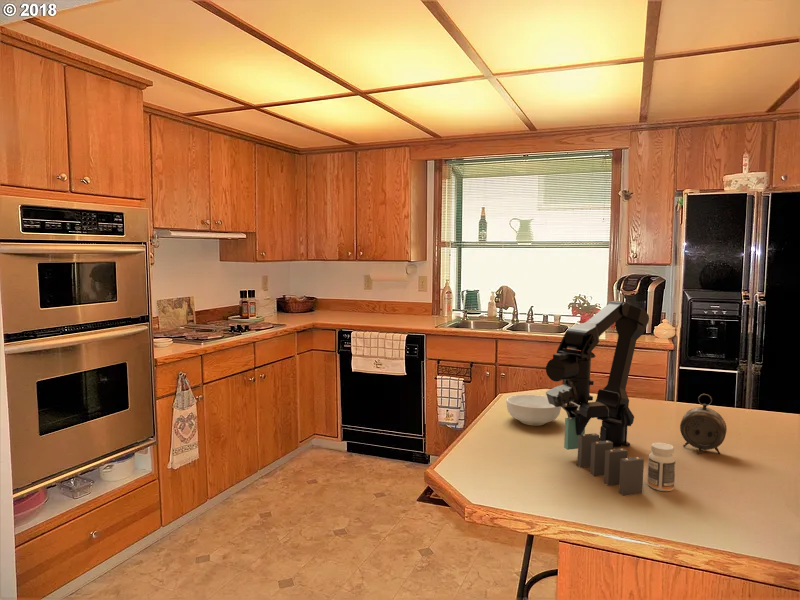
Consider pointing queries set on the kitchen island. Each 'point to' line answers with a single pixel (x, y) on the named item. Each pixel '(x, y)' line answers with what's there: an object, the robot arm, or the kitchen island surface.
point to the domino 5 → (631, 476)
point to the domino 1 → (571, 434)
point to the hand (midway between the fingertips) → (576, 433)
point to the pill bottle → (661, 467)
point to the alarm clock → (703, 428)
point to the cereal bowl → (532, 409)
